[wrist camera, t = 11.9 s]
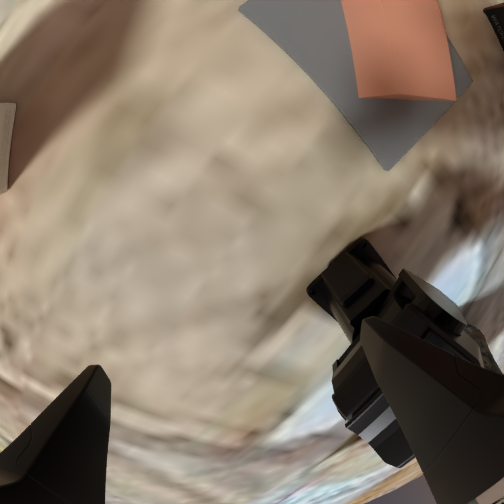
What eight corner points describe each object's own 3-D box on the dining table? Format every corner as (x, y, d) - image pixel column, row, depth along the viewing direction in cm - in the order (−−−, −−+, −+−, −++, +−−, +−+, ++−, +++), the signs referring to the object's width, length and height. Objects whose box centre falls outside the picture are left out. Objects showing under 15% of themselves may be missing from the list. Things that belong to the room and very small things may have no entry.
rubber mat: (468, 81, 18) (473, 81, 17) (384, 169, 21) (388, 171, 20) (359, -57, 12) (362, -60, 11) (238, 10, 15) (239, 7, 14)
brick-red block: (456, 100, 13) (427, -28, 9) (398, 93, 13) (365, -48, 9) (412, 100, 18) (391, -10, 14) (358, 98, 18) (335, -20, 13)
